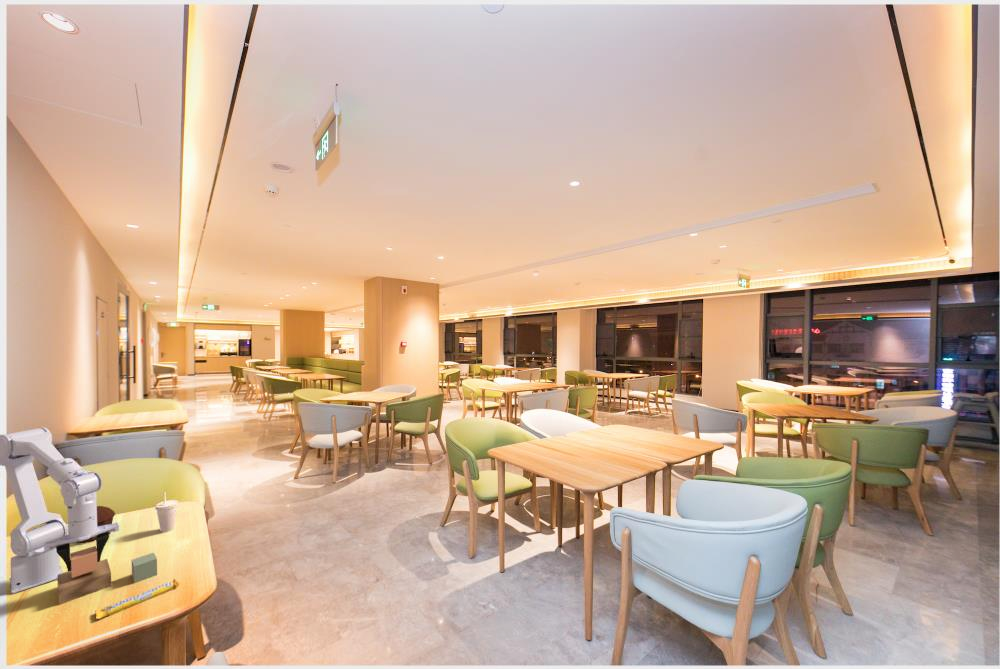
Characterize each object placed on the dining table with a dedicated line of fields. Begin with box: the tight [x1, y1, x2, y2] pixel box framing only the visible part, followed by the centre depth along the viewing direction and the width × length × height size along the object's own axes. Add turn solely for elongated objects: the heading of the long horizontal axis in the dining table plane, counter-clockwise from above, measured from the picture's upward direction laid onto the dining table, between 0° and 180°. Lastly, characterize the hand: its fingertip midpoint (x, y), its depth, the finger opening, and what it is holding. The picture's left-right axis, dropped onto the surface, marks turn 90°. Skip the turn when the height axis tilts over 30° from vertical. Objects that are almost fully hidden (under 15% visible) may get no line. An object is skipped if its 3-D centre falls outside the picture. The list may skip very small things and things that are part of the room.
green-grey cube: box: [131, 552, 158, 584], centre depth 118 cm, size 5×5×5 cm
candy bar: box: [94, 578, 180, 620], centre depth 107 cm, size 17×4×2 cm, turn 141°
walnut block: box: [57, 558, 112, 605], centre depth 112 cm, size 10×10×4 cm
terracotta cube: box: [70, 545, 98, 578], centre depth 112 cm, size 5×5×5 cm
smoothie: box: [154, 491, 179, 533], centre depth 144 cm, size 6×6×14 cm
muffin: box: [75, 505, 116, 544], centre depth 140 cm, size 12×11×10 cm
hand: (84, 565), depth 112 cm, fingers closed on terracotta cube, 5 cm apart
